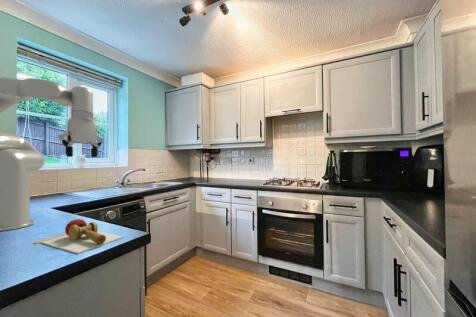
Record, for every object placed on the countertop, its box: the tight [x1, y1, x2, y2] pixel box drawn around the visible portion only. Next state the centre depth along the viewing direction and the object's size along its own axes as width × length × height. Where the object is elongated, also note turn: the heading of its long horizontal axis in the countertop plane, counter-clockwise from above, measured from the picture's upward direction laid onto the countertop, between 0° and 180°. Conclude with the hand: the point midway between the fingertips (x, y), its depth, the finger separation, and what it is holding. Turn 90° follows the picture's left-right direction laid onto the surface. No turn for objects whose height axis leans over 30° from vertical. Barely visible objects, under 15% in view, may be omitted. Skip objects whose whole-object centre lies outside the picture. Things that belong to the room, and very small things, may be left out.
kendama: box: [64, 218, 106, 245], centre depth 70 cm, size 8×6×18 cm
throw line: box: [33, 233, 67, 245], centre depth 76 cm, size 2×16×1 cm, turn 155°
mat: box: [40, 230, 124, 255], centre depth 71 cm, size 20×14×1 cm
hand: (82, 156), depth 91 cm, fingers open, 9 cm apart
